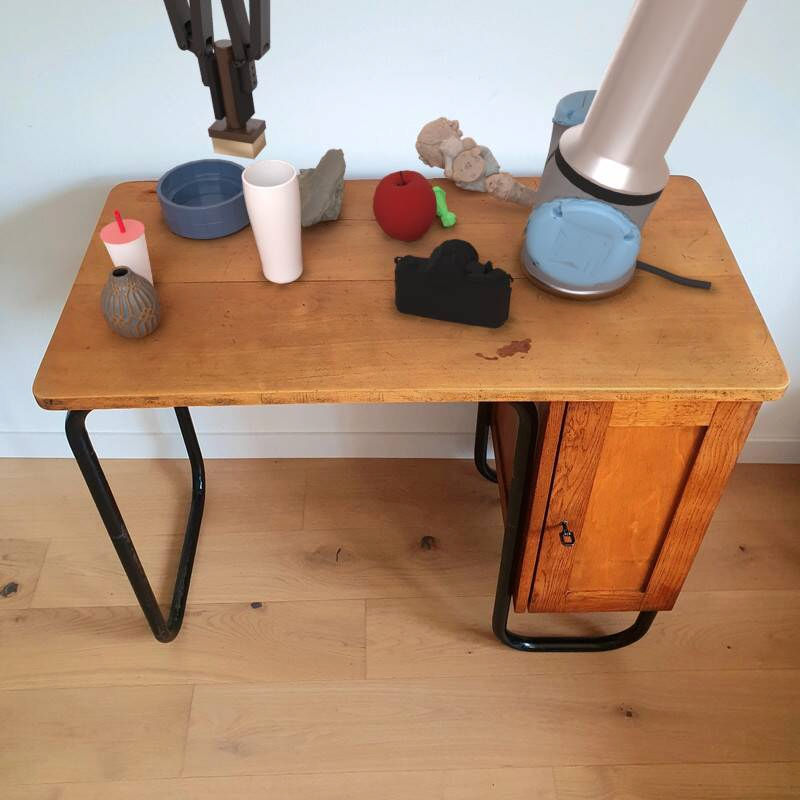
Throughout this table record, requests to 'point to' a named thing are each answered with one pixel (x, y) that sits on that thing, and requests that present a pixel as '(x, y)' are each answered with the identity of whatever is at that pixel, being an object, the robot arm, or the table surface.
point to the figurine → (469, 163)
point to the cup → (127, 245)
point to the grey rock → (322, 188)
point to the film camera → (453, 286)
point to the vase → (130, 303)
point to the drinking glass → (275, 217)
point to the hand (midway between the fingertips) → (235, 115)
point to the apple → (405, 205)
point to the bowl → (203, 198)
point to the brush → (233, 114)
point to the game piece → (443, 208)
